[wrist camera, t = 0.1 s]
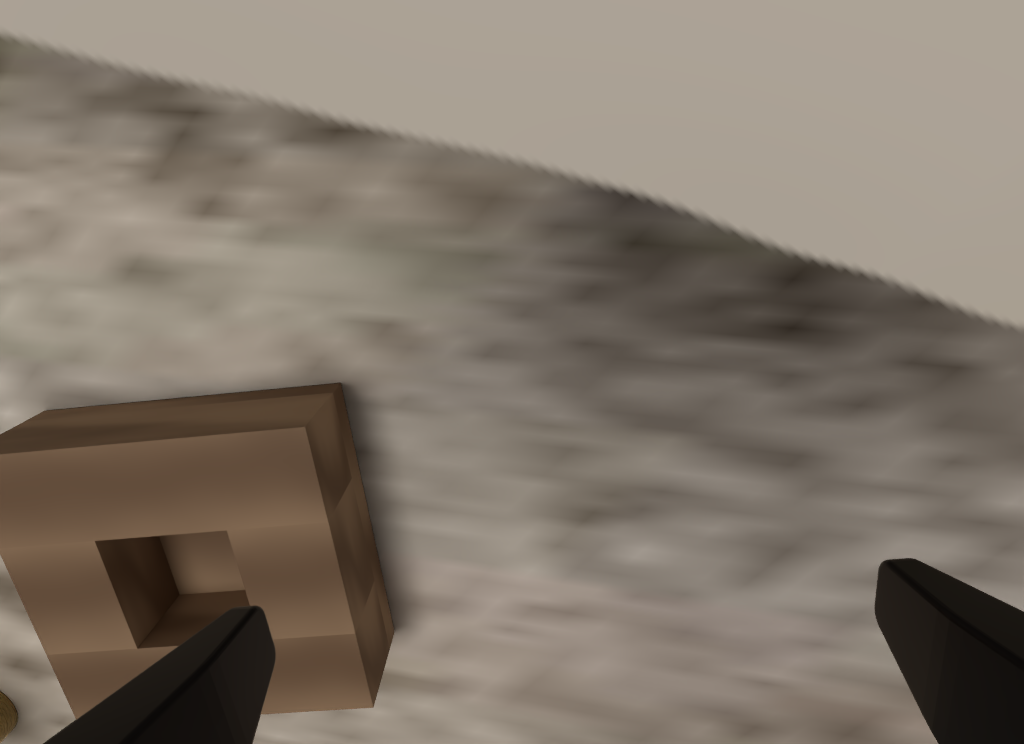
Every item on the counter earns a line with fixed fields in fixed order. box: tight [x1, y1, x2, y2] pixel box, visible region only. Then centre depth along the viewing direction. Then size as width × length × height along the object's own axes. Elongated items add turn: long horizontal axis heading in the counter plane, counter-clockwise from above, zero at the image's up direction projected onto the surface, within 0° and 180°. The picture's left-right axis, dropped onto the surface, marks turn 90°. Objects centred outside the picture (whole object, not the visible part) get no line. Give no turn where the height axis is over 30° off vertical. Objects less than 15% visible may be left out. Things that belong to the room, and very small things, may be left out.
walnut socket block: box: [0, 383, 394, 719], centre depth 24 cm, size 12×12×4 cm
